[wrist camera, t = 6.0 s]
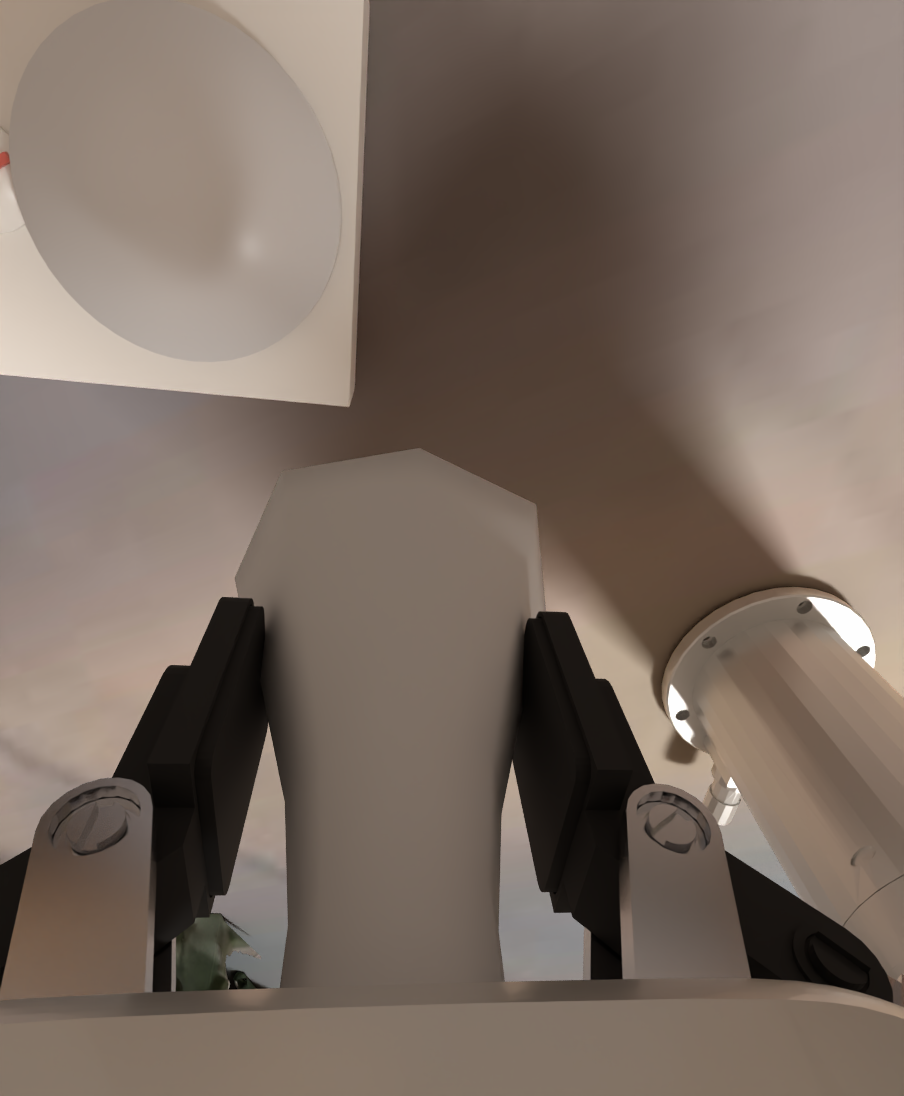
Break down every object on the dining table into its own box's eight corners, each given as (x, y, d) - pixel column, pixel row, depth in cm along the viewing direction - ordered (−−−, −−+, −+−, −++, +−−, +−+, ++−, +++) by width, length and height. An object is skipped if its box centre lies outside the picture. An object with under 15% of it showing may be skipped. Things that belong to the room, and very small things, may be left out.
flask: (235, 692, 16) (40, 1289, 7) (240, 417, 13) (-117, 911, 4) (511, 714, 17) (632, 1254, 8) (583, 466, 14) (914, 935, 5)
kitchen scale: (369, 5, 23) (362, -34, 19) (354, 389, 29) (347, 413, 26) (-76, -66, 21) (-173, -122, 18) (12, 356, 28) (-46, 377, 24)
